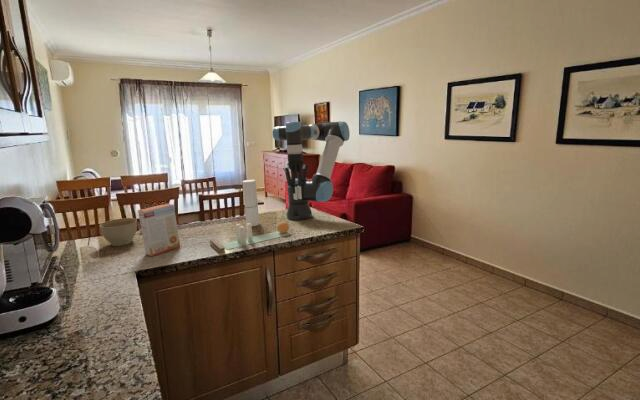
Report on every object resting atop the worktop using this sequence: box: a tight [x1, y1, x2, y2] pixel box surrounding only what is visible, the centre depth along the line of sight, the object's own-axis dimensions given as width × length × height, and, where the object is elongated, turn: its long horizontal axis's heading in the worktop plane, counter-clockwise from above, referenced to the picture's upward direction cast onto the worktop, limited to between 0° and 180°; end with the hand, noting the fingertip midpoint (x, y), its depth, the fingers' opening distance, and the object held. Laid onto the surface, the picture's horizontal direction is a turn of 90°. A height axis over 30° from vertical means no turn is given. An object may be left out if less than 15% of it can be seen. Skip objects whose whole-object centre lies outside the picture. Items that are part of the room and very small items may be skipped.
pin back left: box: [239, 225, 247, 246], centre depth 161 cm, size 2×2×8 cm
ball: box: [276, 221, 290, 234], centre depth 175 cm, size 6×6×6 cm
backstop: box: [209, 238, 226, 254], centre depth 158 cm, size 2×16×2 cm, turn 33°
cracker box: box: [137, 203, 181, 257], centre depth 156 cm, size 14×6×21 cm, turn 141°
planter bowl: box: [99, 217, 138, 247], centre depth 171 cm, size 16×16×11 cm
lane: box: [220, 230, 293, 250], centre depth 168 cm, size 34×9×1 cm, turn 123°
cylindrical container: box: [242, 179, 260, 227], centre depth 191 cm, size 7×7×25 cm
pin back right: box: [235, 223, 242, 242], centre depth 165 cm, size 2×2×8 cm
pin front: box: [245, 223, 254, 241], centre depth 165 cm, size 2×2×8 cm
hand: (297, 198), depth 177 cm, fingers open, 2 cm apart
